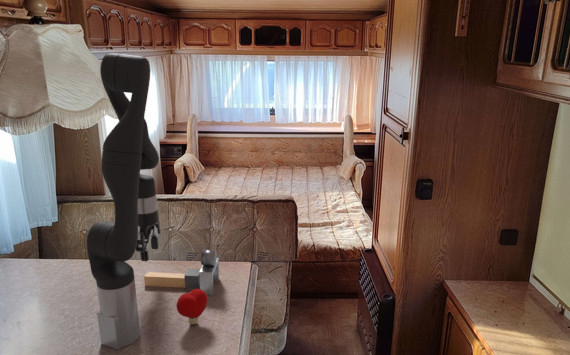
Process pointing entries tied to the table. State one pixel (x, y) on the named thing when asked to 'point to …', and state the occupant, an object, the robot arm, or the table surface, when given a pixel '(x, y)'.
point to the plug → (174, 279)
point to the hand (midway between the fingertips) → (150, 254)
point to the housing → (209, 271)
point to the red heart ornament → (192, 305)
